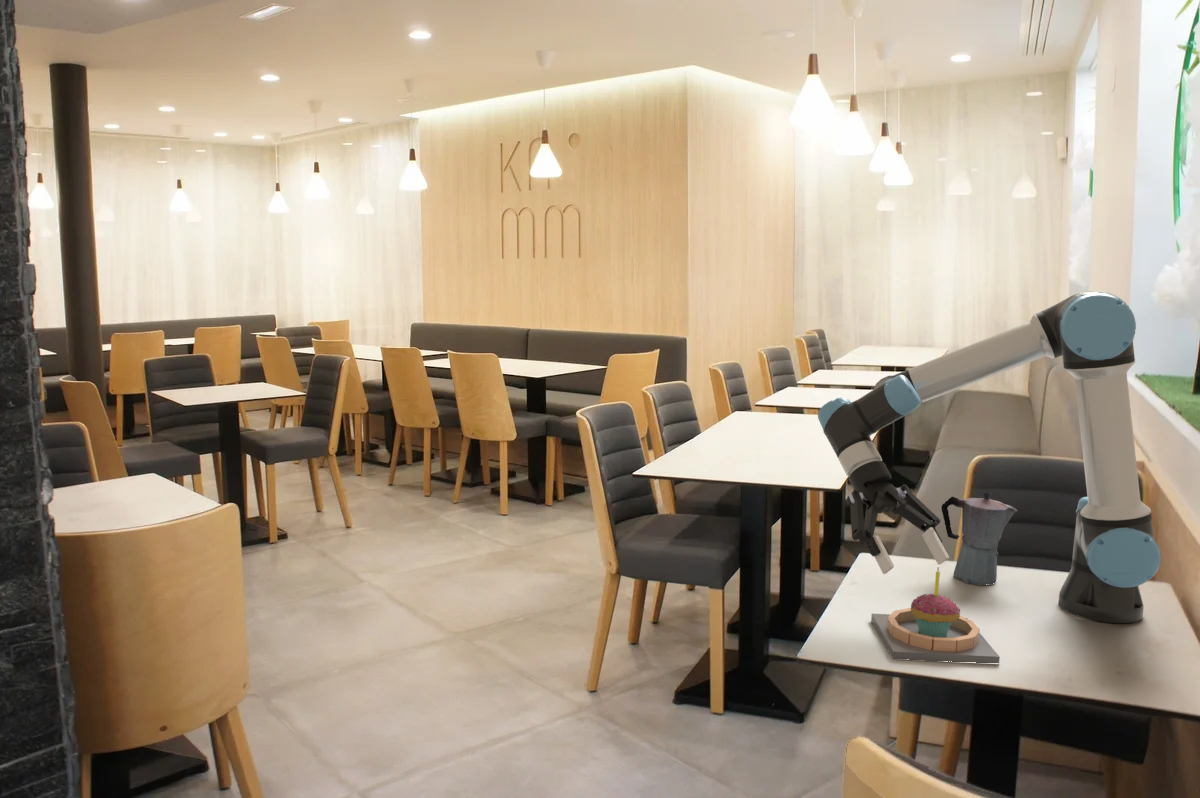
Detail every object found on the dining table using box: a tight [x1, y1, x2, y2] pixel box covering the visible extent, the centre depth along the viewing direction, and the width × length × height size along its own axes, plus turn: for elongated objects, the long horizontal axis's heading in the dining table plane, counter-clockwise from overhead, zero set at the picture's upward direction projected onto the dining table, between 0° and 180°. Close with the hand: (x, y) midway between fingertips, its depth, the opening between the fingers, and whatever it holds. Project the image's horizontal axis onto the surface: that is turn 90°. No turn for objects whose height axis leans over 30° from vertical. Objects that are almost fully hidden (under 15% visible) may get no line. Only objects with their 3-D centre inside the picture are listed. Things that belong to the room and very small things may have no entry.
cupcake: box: [910, 566, 961, 637], centre depth 172 cm, size 9×8×12 cm
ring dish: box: [870, 607, 1001, 664], centre depth 173 cm, size 18×18×4 cm
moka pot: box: [940, 491, 1018, 586], centre depth 207 cm, size 10×15×20 cm, turn 78°
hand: (916, 565), depth 175 cm, fingers open, 13 cm apart
